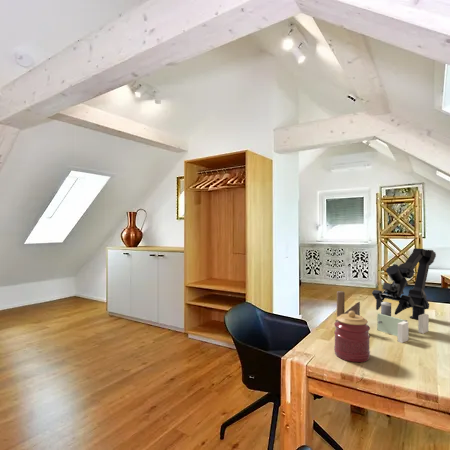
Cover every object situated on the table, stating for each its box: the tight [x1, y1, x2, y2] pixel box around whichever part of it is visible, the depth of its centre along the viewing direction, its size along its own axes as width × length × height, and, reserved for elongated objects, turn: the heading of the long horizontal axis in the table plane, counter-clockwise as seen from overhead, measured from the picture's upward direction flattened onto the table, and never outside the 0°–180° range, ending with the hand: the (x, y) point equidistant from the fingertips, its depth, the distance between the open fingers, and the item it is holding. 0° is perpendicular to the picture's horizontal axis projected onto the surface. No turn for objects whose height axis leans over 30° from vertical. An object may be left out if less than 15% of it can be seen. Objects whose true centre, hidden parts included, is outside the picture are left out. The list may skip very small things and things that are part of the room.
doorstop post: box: [380, 301, 392, 317], centre depth 150 cm, size 4×4×13 cm
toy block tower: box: [334, 290, 361, 328], centre depth 150 cm, size 4×11×18 cm, turn 46°
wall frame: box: [397, 313, 430, 344], centre depth 141 cm, size 26×2×8 cm, turn 125°
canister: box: [333, 311, 371, 363], centre depth 120 cm, size 13×13×18 cm
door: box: [376, 313, 408, 337], centre depth 143 cm, size 14×3×8 cm, turn 33°
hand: (385, 311), depth 150 cm, fingers open, 9 cm apart
